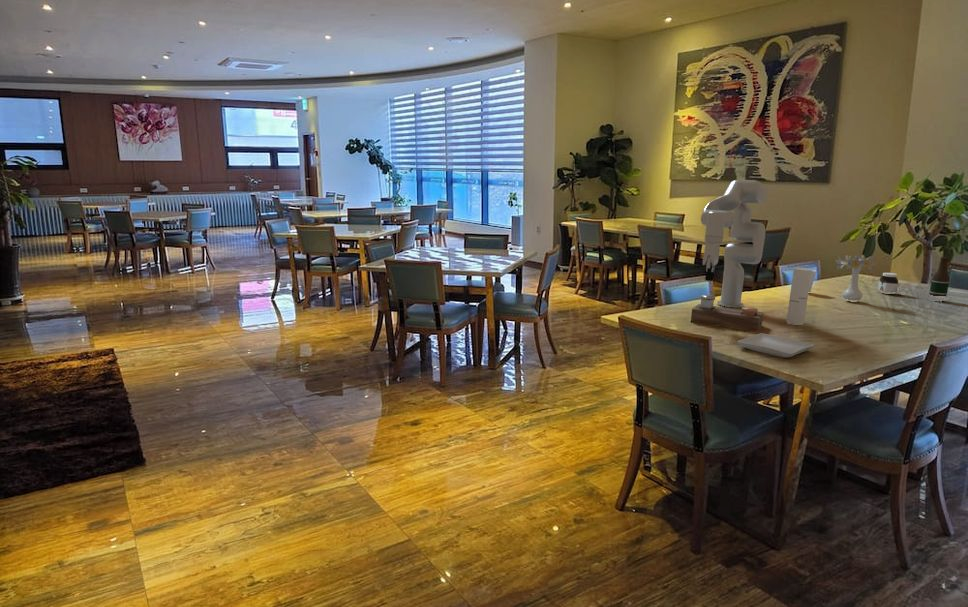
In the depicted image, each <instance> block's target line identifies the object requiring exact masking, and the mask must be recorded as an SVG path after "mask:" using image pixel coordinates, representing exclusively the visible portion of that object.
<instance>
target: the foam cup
mask: <svg viewBox="0 0 968 607" xmlns="http://www.w3.org/2000/svg"><path fill="white" fill-rule="evenodd" d="M810 269H811V268H810ZM811 270H812V271H811V278H810V285H809V292H810V293H811V292H812V289H813V285H814V282H815V278H816V275H817V270H816V269H811Z"/></svg>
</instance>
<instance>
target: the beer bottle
mask: <svg viewBox="0 0 968 607" xmlns="http://www.w3.org/2000/svg"><path fill="white" fill-rule="evenodd" d="M949 259H950V258H949V257H948V256H941V257H940V261H939V265H938V267H937V268H938V269H937V271H936V272H935V273H934V274H933V276H932V277H931V281H930V288H929V291H928V292H929V293H928V295H929V294H930V295H933V296H946V297H947V296H948V290H949V284H950V275H949V274H948V262H949Z"/></svg>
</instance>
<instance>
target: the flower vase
mask: <svg viewBox="0 0 968 607" xmlns="http://www.w3.org/2000/svg"><path fill="white" fill-rule="evenodd" d="M851 257H852V256H851V255H849V256H848V254H846V255H845V257H844V260H842V259H841V257H840V256H837V259H835V264H838V265H837V267H836V270H839V269H840V270H842V268H843V267H845V266H846V269H847V270H852V275H851V280H850V283H849V286H848V287H847V288H846V289H845V290H844V291H843V292H842V294H841V296H842V298H843V299H844V298H845V299H848V300H858V301H860V300H861V299H863V296H864V295H863V293H862V292H861V290H860V289H859V276H860V272H861V269H862V268H866V269H867V268H868V269H869V270H870V271H872V270H873V267H874V266H877V263H876V262H874V261H872V259H873V257H872V256H871V255H870V256H868V257H867V258H866V256H865V255H864V254H861V258H859V257H858V254H855V255H854V257H853V258H851ZM845 299H844V300H845Z"/></svg>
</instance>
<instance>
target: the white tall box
mask: <svg viewBox="0 0 968 607" xmlns="http://www.w3.org/2000/svg"><path fill="white" fill-rule="evenodd" d="M812 270H813V269H812ZM812 270H811V268H805V267H793V271H792V277H791V278H792V279H791V286H790V292H789V299H788V307H787V315H786V316H787V317H786V322H787V323H788V324H787V323H786V324H787V325H789V324H793V325H792V326H794V325H802V324H804V325H805V319H806V312H807V305H808V299H809V294H808V292H809V285H810V278H811V271H812Z"/></svg>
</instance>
